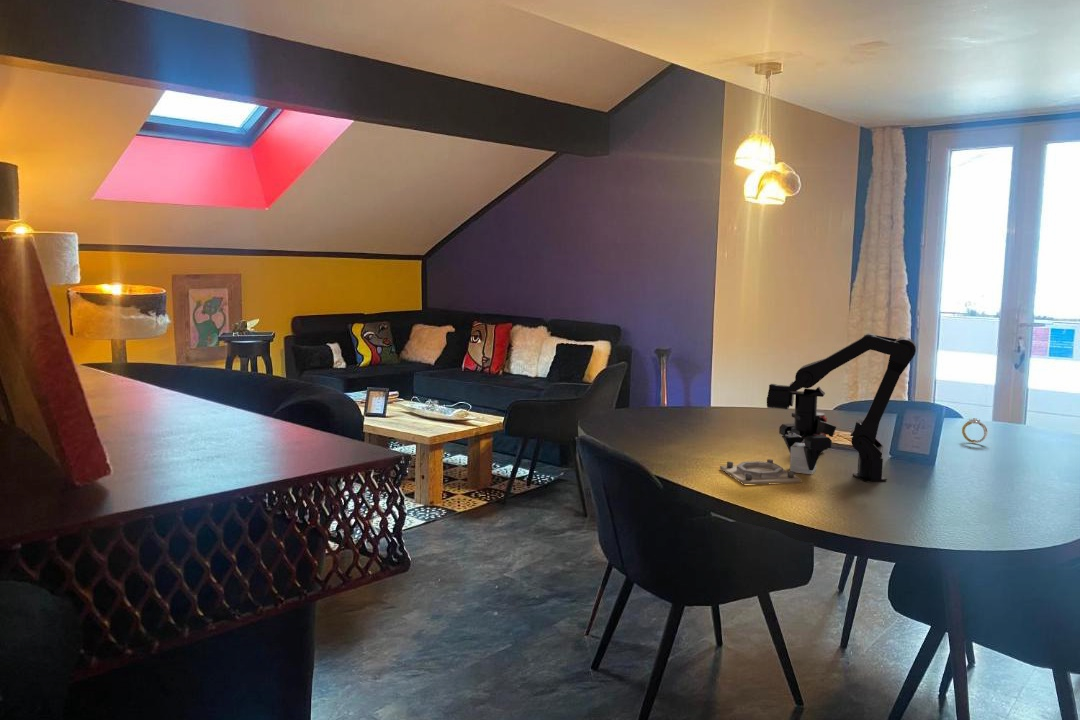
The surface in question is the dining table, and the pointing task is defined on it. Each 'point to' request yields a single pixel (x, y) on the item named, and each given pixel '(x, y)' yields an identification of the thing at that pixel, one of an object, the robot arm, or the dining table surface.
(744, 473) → the carrier plate
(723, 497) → the dining table surface
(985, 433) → the ring
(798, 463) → the skincare box
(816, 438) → the robot arm
